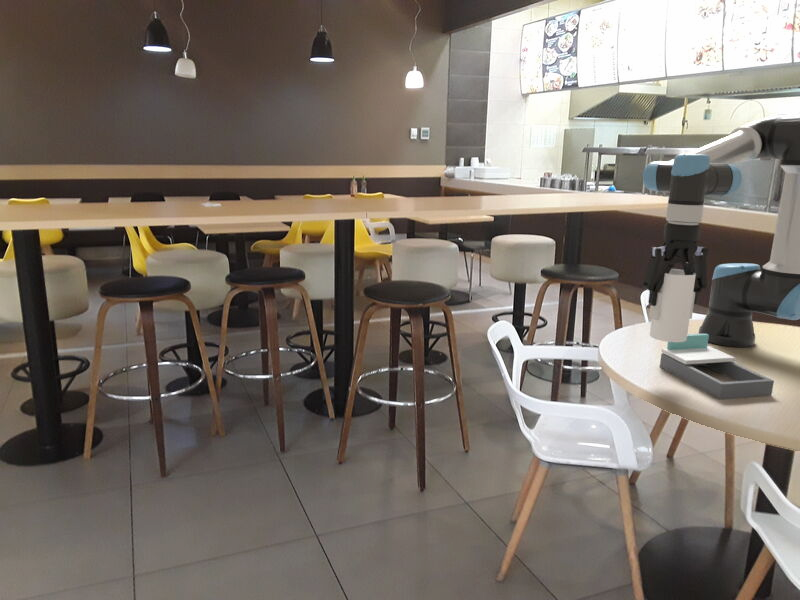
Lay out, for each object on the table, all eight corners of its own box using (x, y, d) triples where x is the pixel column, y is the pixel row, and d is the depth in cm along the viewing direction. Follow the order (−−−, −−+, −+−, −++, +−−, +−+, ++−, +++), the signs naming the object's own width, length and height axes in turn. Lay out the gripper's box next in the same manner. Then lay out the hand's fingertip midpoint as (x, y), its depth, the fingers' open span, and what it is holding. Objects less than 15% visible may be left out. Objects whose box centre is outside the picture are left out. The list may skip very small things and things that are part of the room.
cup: (683, 344, 144) (693, 276, 141) (646, 338, 149) (654, 272, 145) (688, 336, 151) (698, 271, 147) (653, 330, 155) (661, 267, 152)
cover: (708, 349, 164) (710, 333, 163) (734, 361, 156) (737, 344, 154) (661, 352, 161) (663, 335, 160) (685, 364, 152) (687, 346, 151)
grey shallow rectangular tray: (706, 363, 165) (708, 350, 165) (771, 395, 145) (774, 380, 144) (659, 366, 162) (661, 353, 161) (719, 399, 142) (721, 384, 141)
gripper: (711, 220, 149) (697, 312, 155) (632, 220, 145) (622, 315, 150) (734, 224, 142) (719, 320, 148) (652, 224, 137) (640, 323, 143)
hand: (670, 317), depth 149 cm, fingers closed on cup, 8 cm apart
